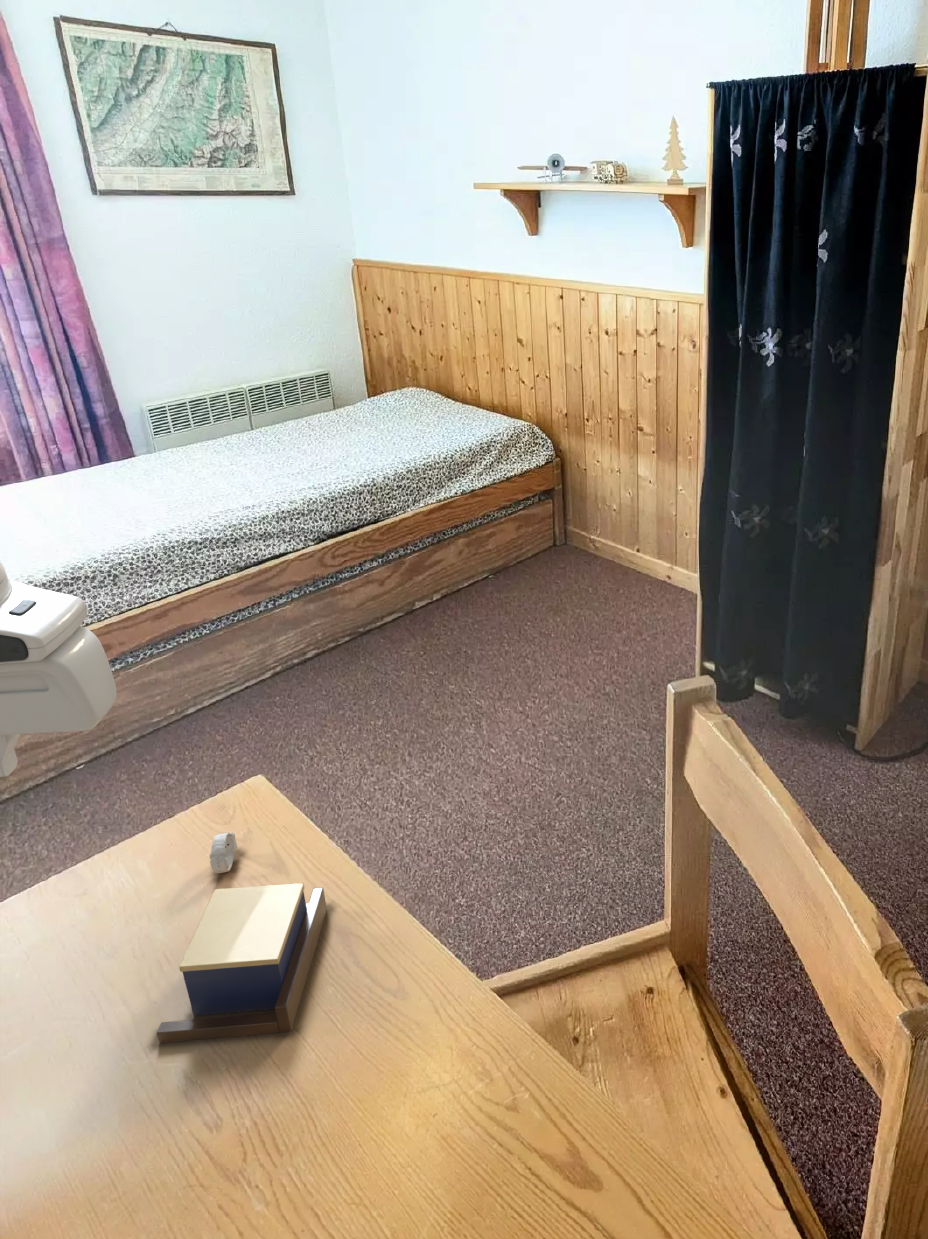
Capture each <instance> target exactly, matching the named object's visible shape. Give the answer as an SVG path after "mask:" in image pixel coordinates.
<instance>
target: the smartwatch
mask: <svg viewBox="0 0 928 1239" xmlns="http://www.w3.org/2000/svg"><path fill="white" fill-rule="evenodd" d="M236 850H238V843H237V838H236V834H235V832H232V831H230V832H223V833H217V834H215V835H214V837H213V840H212V844H211V850H210V854H209V859H210V862H209V864H210V868H211V870H212V871H213V872H214V873H215V874H223V873H227V872H230V871H231V869H232V867H233V864H234V863H233V862H234V857H235V852H236Z"/></svg>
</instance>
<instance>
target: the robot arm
mask: <svg viewBox="0 0 928 1239" xmlns="http://www.w3.org/2000/svg"><path fill="white" fill-rule="evenodd" d="M6 571H7V570H6V568H5V566H4V564H3V563H2V562H1V561H0V778H3V777H4V778H5V777H6V778H7V777H9V776H10V775H11V774H12V773H13V771H15V769H16V768H17V767H18V764H19V762H18V761H19V760H18V757H17V753H16V750H15V747H16V745H17V743H18V740H19V738H20V737H21V735H29V734H47V733H62V732H63V733H66V732H80V731H81V732H82V731H83V732H84V731H90V730H92V729H94V728H96V727H97V725H98V724H100V722H101V721H102V720H103V719H104V718H105V716H106V715H107V714H108V713H109V712H110V710H111V709H112V707H113V706H114V704H115V703H116V701H117V696H118V691H117V685H116V681H115V678H114V675H113V671H112V668H111V665H110V662H109V659H108V657H107V656H108V655H107V654H106V651H105V649H104V647H103V645H102V642H101V641H100V639H99V638H98V637H97V635H96V634H95V633H93V631H91V630H90V629H88V628H87V627H85V626H81V625H82V624H83V622H84V621H85V620H86V618H87V616H88V608H87V605H86V602H85V601H84V600H83V598H81V597H79V596H76V595H72V594H69V593H64V592H59V591H54V590H49V589H45V588H42V587H38V586H33V585H30V584H26V583H24V582H22V581H21V582H20V581H17V580H15V579H10V578H8V575H7V572H6Z"/></svg>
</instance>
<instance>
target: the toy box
mask: <svg viewBox="0 0 928 1239" xmlns="http://www.w3.org/2000/svg"><path fill="white" fill-rule="evenodd" d="M304 890H305V883H304V882H297V883H284V884H283V883H281V884H269V885H268V884H267V885H255V886H254V885H253V886H243V887H241V886H240V887H228V888H215V889H214V890H213V893H212V895H211V897H210V899H209V902H208V903H207V906H206V907H205V910H204V912H203V914H202V917H201V919H200V920H199V923H198V925H197V927H196V929H195V932H194V934H193V936H192V938H191V941H190V943H189V945H188V947H187V949H186V952H185V953H184V955H183V958H182V960H181V963H180V964H179V966H178V967H179V972H180V973H182V975H183V980H184V983H185V988H186V991H187V995H188V999H189V1003H190V1007H191V1011H192V1015H193V1017H195V1016H196V1017H197V1016H208V1015H220V1014H233V1013H244V1012H255V1011H268V1010H275V1006H276V1003H277V1000H278V996H279V993H280V990H281V987H282V984H283V981H284V978H285V975H286V972H287V969H288V965H289V962H290V959H291V956H292V953H293V950H294V947H295V944H296V941H297V938H298V934H299V931H300V928H301V925H302V922H303V919H304V916H305V913H306V910H307V908H306V903H307V902H306V896H305V891H304Z"/></svg>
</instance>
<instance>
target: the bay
mask: <svg viewBox="0 0 928 1239" xmlns="http://www.w3.org/2000/svg"><path fill="white" fill-rule="evenodd" d="M306 908H307V910H306V913H305V916H304V919H303V922H302V925H301V928H300V931H299V934H298V938H297V941H296V944H295V947H294V950H293V953H292V956H291V959H290V962H289V965H288V969H287V972H286V975H285V978H284V981H283V984H282V987H281V990H280V993H279V996H278V1000H277V1003H276V1006H275V1009H274V1011H275V1012H267V1013H255V1014H244V1015H234V1016H233V1015H232V1016H223V1017H222V1016H221V1017H211V1018H210V1017H209V1018H199V1019H187V1020H176V1021H175V1020H174V1021H163V1022H160V1025H159V1027H158V1029H157V1031H156V1035H157V1036H156V1037H157V1040H158V1043H159V1044H161V1043H171V1042H182V1041H183V1042H184V1041H193V1040H194V1041H195V1040H207V1039H216V1038H217V1039H219V1038H228V1037H239V1036H251V1035H263V1034H274V1033H284V1032H285V1033H287V1032H292V1029H293V1026H294V1023H295V1019H296V1016H297V1013H298V1010H299V1006H300V1003H301V999H302V996H303V992H304V989H305V987H306V982H307V979H308V976H309V972H310V969H311V965H312V962H313V958H314V955H315V953H316V948H317V945H318V942H319V938H320V935H321V932H322V928H323V924H324V921H325V918H326V915H327V911H328V908H327V902H326V895H325V889H324V887H315V888H314V887H313V889H312V891H311V895H310V898H309V899H308V902H306Z"/></svg>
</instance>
